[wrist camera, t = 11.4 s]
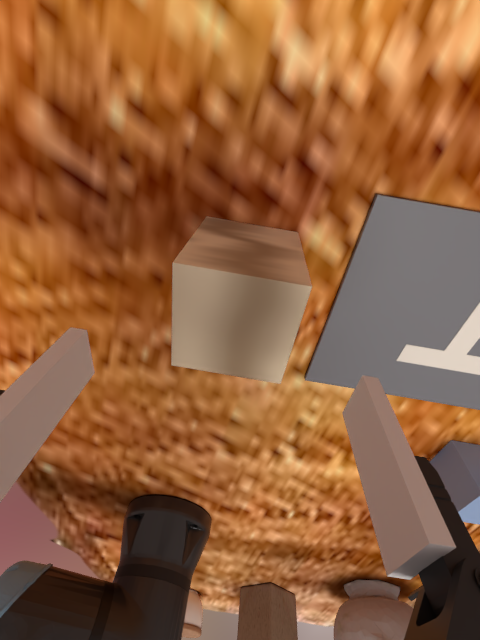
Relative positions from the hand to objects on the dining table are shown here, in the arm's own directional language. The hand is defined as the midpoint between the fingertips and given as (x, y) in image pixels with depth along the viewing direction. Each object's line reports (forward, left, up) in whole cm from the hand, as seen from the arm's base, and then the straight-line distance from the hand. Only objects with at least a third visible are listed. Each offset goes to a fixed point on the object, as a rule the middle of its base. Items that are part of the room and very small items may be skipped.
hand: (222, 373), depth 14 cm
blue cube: (+30, -20, -12) cm, 38 cm away
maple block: (0, 0, -12) cm, 12 cm away
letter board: (+20, -2, -12) cm, 23 cm away
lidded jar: (-1, -98, -12) cm, 98 cm away
